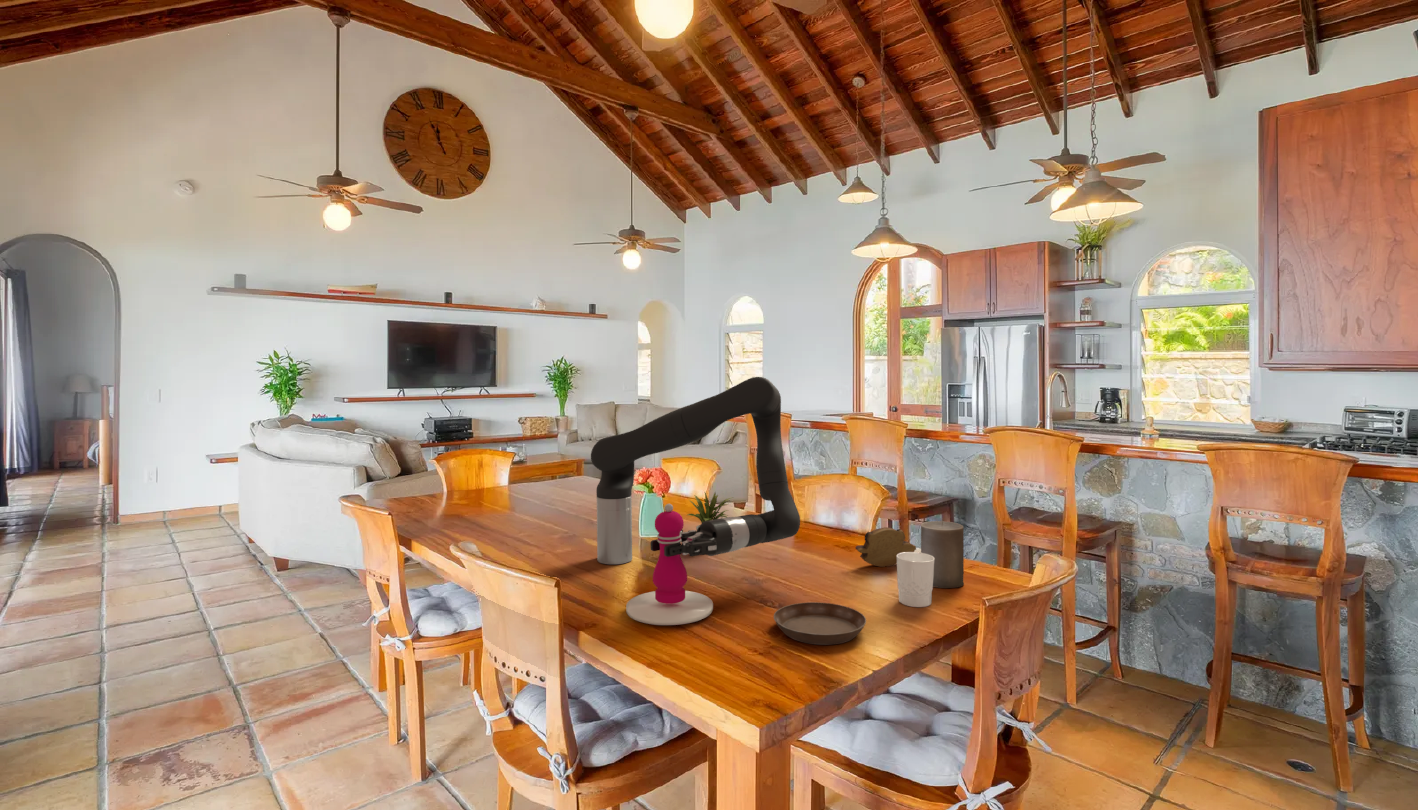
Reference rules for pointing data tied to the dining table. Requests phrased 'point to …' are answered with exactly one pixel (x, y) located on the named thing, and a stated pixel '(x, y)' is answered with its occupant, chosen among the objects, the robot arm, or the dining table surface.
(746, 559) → the dining table surface
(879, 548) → the wooden carving
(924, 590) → the white cup
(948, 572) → the pillar candle
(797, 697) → the dining table surface
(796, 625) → the plant saucer
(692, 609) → the plate
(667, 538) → the pepper mill
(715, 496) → the house plant
